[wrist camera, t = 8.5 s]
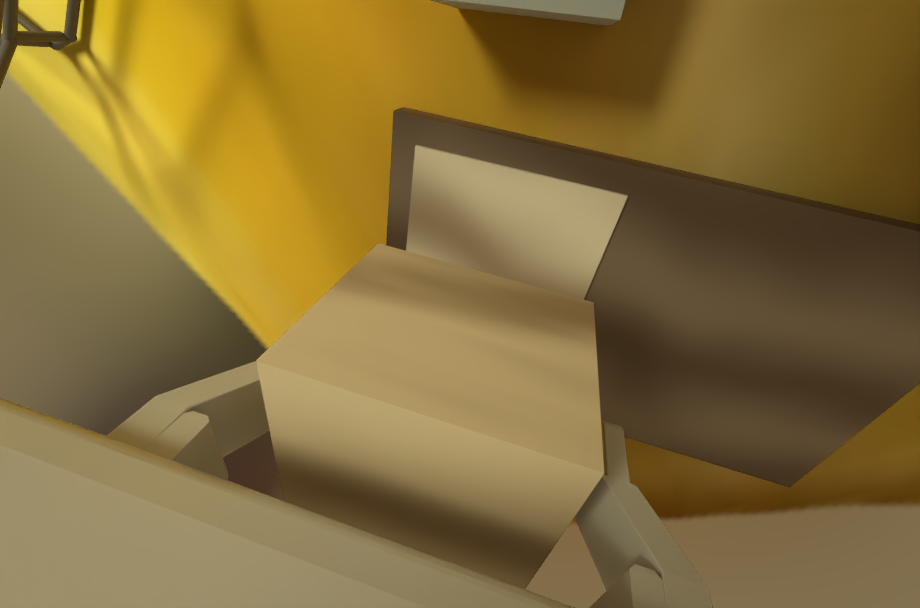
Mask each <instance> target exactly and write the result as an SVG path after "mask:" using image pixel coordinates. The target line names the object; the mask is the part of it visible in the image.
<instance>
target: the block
mask: <svg viewBox="0 0 920 608" xmlns="http://www.w3.org/2000/svg"><path fill="white" fill-rule="evenodd" d="M256 364H257V369H258V374H259V379H260V384H261V389H262V394H263V399H264V404H265V409H266V414H267V419H268V424H269V429H270V434H271V439H272V444H273V449H274V454H275V459H276V464H277V469H278V474H279V479H280V484H281V489H282V494H283V499H284V502H287V503H290V504H293V505H295V506H298V507H301V508H304V509H306V510H309V511H312V512H315V513H317V514H320V515H323V516H326V517H328V518H331V519H334V520H337V521H339V522H342V523H345V524H347V525H350V526H353V527H356V528H358V529H361V530H364V531H367V532H369V533H372V534H375V535H378V536H380V537H383V538H386V539H389V540H391V541H394V542H397V543H399V544H402V545H405V546H408V547H410V548H413V549H416V550H419V551H421V552H424V553H427V554H430V555H432V556H435V557H438V558H440V559H443V560H446V561H449V562H451V563H454V564H457V565H460V566H462V567H465V568H468V569H470V570H473V571H476V572H479V573H481V574H484V575H487V576H490V577H492V578H495V579H498V580H500V581H503V582H506V583H509V584H511V585H514V586H517V587H520V588H522V589H526V587H527V586H528V584H529V583H530V581H531V580H532V578H533V577H534V575H535V574H536V572H537V571H538V570H539V568H540V567H541V565H542V564H543V562H544V561H545V559H546V557H547V556H548V555H549V553H550V552H551V551H552V549H553V548H554V546H555V545H556V543H557V542H558V540H559V539H560V537H561V536H562V534H563V533H564V531H565V530H566V529H567V527H568V526H569V524H570V523H571V521H572V520H573V518H574V517H575V515H576V514H577V513H578V511H579V510H580V508H581V507H582V505H583V504H584V502H585V501H586V499H587V498H588V496H589V495H590V494H591V492H592V491H593V489H594V488H595V486H596V485H597V483H598V482H599V480H600V479H601V477H602V476H603V475H604V461H603V445H602V429H601V413H600V397H599V381H598V365H597V349H596V333H595V317H594V302H591V301H587V300H583V299H580V298H576V297H572V296H569V295H565V294H562V293H558V292H554V291H551V290H547V289H543V288H540V287H536V286H532V285H529V284H525V283H521V282H518V281H514V280H510V279H507V278H503V277H499V276H496V275H492V274H488V273H485V272H481V271H478V270H474V269H470V268H467V267H463V266H459V265H456V264H452V263H448V262H445V261H441V260H437V259H434V258H430V257H426V256H423V255H419V254H415V253H412V252H408V251H405V250H401V249H397V248H394V247H390V246H386V245H383V244H379V243H378V244H377V245H376V246H375V247H373V248H372V249H371V250H370V251H369V252H368V253H367V254H366V255H365V256H364V257H363V258H362V259H361V260H360V261H359V262H358V263H357V264H356V265H355V266H354V267H353V268H352V269H351V270H350V271H349V272H348V273H347V274H345V275H344V276H343V277H342V278H341V279H340V280H339V281H338V282H337V283H336V284H335V285H334V286H333V287H332V288H331V289H330V290H329V291H328V292H327V293H326V294H325V295H324V296H323V297H322V298H321V299H320V300H319V301H317V302H316V303H315V304H314V305H313V306H312V307H311V308H310V309H309V310H308V311H307V312H306V313H305V314H304V315H303V316H302V317H301V318H300V319H299V320H298V321H297V322H296V323H295V324H294V325H293V326H292V327H291V328H289V329H288V330H287V331H286V332H285V333H284V334H283V335H282V336H281V337H280V338H279V339H278V340H277V341H276V342H275V343H274V344H273V345H272V346H271V347H270V348H269V349H268V350H267V351H266V352H265V353H264V354H263V355H261V357H260V358H258V359H257V360H256Z"/></svg>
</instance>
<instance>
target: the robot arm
mask: <svg viewBox="0 0 920 608" xmlns="http://www.w3.org/2000/svg"><path fill="white" fill-rule="evenodd" d="M601 429H602V445H603V461H604V475H603V476H602V477H601V479H600V480H599V482H598V483H597V485H596V486H595V488H594V489H593V491H592V492H591V494H590V495H589V496H588V498H587V499H586V501H585V502H584V504H583V505H582V507H581V508H580V510H579V511H578V513H577V514H576V515H575V519H576V522H577V524H578V526H579V529H580V531H581V533H582V535H583V538H584V540H585V542H586V544H587V547H588V549H589V551H590V554H591V556H592V558H593V560H594V562H595V565H596V567H597V569H598V572H599V574H600V576H601V578H602V581H603V583H604V585H605V588H606V590H607V591H606V592H605V593H604V594H603V595H602V596H601V597H600V598H599V599H598V600H597V601H596V602H595V603H594V604H593V605H592V606H591V607H590V608H713V606H712V602H711V598H710V593H709V589H708V587H707V586H706V584H705V583H704V581H703V580H702V579H701V577H700V576H699V574H698V573H697V571H696V570H695V569H694V567H693V565H692V564H691V563H690V561H689V560H688V558H687V557H686V556H685V554H684V553H683V551H682V550H681V548H680V547H679V546H678V544H677V543H676V541H675V540H674V538H673V537H672V536H671V534H670V533H669V531H668V530H667V528H666V527H665V526H664V524H663V523H662V521H661V520H660V518H659V517H658V516H657V514H656V513H655V511H654V510H653V508H652V507H651V506H650V504H649V503H648V501H647V500H646V498H645V497H644V496H643V494H642V493H641V491H640V490H639V489H638V487H637V486H636V485H633V484H630V476H629V469H628V461H627V453H626V445H625V437H624V430H623V428H622V427H621V426H619V425H615V424H612V423H609V422H605V421H601ZM269 430H270V429H269V424H268V419H267V414H266V409H265V404H264V399H263V394H262V389H261V384H260V379H259V374H258V369H257V364H256V362H252V363H249V364H246V365H243V366H241V367H238V368H235V369H232V370H229V371H226V372H223V373H221V374H218V375H215V376H212V377H209V378H206V379H203V380H201V381H197V382H195V383H192V384H189V385H186V386H183V387H180V388H177V389H175V390H172V391H169V392H166V393H163V394H160V395H157V396H155V397H154V398H153V399H152V400H150V401H149V402H148V403H147V404H145V405H144V406H143V407H142V408H141V409H139V410H138V411H137V412H136V413H135V414H133V415H132V416H131V417H129V418H128V419H127V420H126V421H125V422H123V423H122V424H121V425H120V426H119V427H117V428H116V429H115V430H113V431H112V432H111V433H110V434H109V435H108V436H104V435H101V434H98V433H95V432H93V431H90V430H87V429H85V428H82V427H79V426H76V425H74V424H71V423H68V422H65V421H63V420H60V419H57V418H54V417H51V416H49V415H46V414H43V413H41V412H38V411H35V410H33V409H30V408H27V407H24V406H22V405H19V404H16V403H13V402H11V401H8V400H5V399H3V398H0V608H574V607H571V606H568V605H566V604H563V603H560V602H558V601H555V600H552V599H550V598H547V597H544V596H541V595H538V594H536V593H533V592H530V591H528V590H525V589H522V588H520V587H517V586H514V585H511V584H509V583H506V582H503V581H500V580H498V579H495V578H492V577H490V576H487V575H484V574H481V573H479V572H476V571H473V570H470V569H468V568H465V567H462V566H460V565H457V564H454V563H451V562H449V561H446V560H443V559H440V558H438V557H435V556H432V555H430V554H427V553H424V552H421V551H419V550H416V549H413V548H410V547H408V546H405V545H402V544H399V543H397V542H394V541H391V540H389V539H386V538H383V537H380V536H378V535H375V534H372V533H369V532H367V531H364V530H361V529H358V528H356V527H353V526H350V525H347V524H345V523H342V522H339V521H337V520H334V519H331V518H328V517H326V516H323V515H320V514H317V513H315V512H312V511H309V510H306V509H304V508H301V507H298V506H295V505H293V504H290V503H287V502H284V501H282V500H279V499H276V498H274V497H271V496H268V495H265V494H263V493H260V492H257V491H254V490H252V489H249V488H246V487H243V486H241V485H238V484H235V483H232V482H230V481H227V479H228V473H227V470H226V467H225V464H224V461H223V457H224V456H226V455H228V454H229V453H231V452H233V451H235V450H236V449H238V448H240V447H242V446H243V445H245V444H247V443H248V442H250V441H252V440H254V439H256V438H257V437H259V436H261V435H262V434H264V433H266V432H267V431H269Z"/></svg>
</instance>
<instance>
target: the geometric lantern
mask: <svg viewBox="0 0 920 608" xmlns="http://www.w3.org/2000/svg"><path fill="white" fill-rule="evenodd" d="M80 2H81V0H68V3H67V12H66V21H65V31H64V33H62V32H60V31H41V30H40V29H39V28H38V27H37V26H35V25H34V24H33V23H32V22H30V21H29V20H28V19H27V18H26V17H24V16H23V15H22V14H21V13H19V12H18V0H0V88H1V85H2V83H3V80H4V78H5V75H6V73H7V70H8V67H9V65H10V62H11V60H12V57H13V55H14V52H15V49H16V47H17V45H19V46H38V47H51V48H53V49H54V50H59V49H61V48H63V47H65V46H67V45H69V44H71V43H73V42H75V41H76V40H77V36H76V34H77V26H78V18H79V10H80ZM2 21H3V34H1V29H2ZM18 23H20V24H21V25H22V26H23V27H24V28H26V29H27V30H28V31H17V30H18Z"/></svg>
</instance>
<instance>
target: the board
mask: <svg viewBox="0 0 920 608" xmlns="http://www.w3.org/2000/svg"><path fill="white" fill-rule="evenodd" d="M386 246H390V247H394V248H397V249H401V250H405V251H408V252H412V253H415V254H419V255H423V256H426V257H430V258H434V259H437V260H441V261H445V262H448V263H452V264H456V265H459V266H463V267H467V268H470V269H474V270H478V271H481V272H485V273H488V274H492V275H496V276H499V277H503V278H507V279H510V280H514V281H518V282H521V283H525V284H529V285H532V286H536V287H540V288H543V289H547V290H551V291H554V292H558V293H562V294H565V295H569V296H572V297H576V298H580V299H583V300H587V301H591V302H594V317H595V333H596V349H597V365H598V381H599V397H600V413H601V421H605V422H609V423H612V424H615V425H619V426H621V427H622V428H623V430H624V437H628V438H631V439H634V440H637V441H641V442H644V443H647V444H650V445H654V446H657V447H660V448H663V449H667V450H670V451H673V452H676V453H680V454H683V455H686V456H689V457H693V458H696V459H699V460H702V461H706V462H709V463H712V464H715V465H719V466H722V467H725V468H728V469H732V470H735V471H738V472H741V473H745V474H748V475H751V476H754V477H758V478H761V479H764V480H767V481H771V482H774V483H777V484H780V485H784V486H787V487H790V486H792V485H793V484H794V483H795V482H797V481H798V480H799V479H800V478H802V477H803V476H804V475H805V474H807V473H808V472H809V471H810V470H812V469H813V468H814V467H815V466H817V465H818V464H819V463H821V462H822V461H823V460H824V459H826V458H827V457H828V456H829V455H831V454H832V453H833V452H834V451H836V450H837V449H838V448H839V447H841V446H842V445H843V444H844V443H846V442H847V441H848V440H849V439H851V438H852V437H853V436H854V435H856V434H857V433H858V432H859V431H861V430H862V429H863V428H864V427H866V426H867V425H868V424H869V423H871V422H872V421H873V420H874V419H876V418H877V417H878V416H879V415H881V414H882V413H883V412H884V411H886V410H887V409H888V408H889V407H891V406H892V405H893V404H894V403H896V402H897V401H898V400H899V399H901V398H902V397H903V396H904V395H906V394H907V393H908V392H909V391H911V390H912V389H913V388H914V387H916V386H917V385H918V384H919V383H920V225H918V224H913V223H909V222H905V221H900V220H896V219H891V218H887V217H883V216H878V215H874V214H869V213H865V212H861V211H856V210H852V209H848V208H843V207H839V206H834V205H830V204H826V203H821V202H817V201H812V200H808V199H804V198H799V197H795V196H790V195H786V194H782V193H777V192H773V191H769V190H764V189H760V188H755V187H751V186H747V185H742V184H738V183H733V182H729V181H725V180H720V179H716V178H711V177H707V176H703V175H698V174H694V173H690V172H685V171H681V170H676V169H672V168H668V167H663V166H659V165H654V164H650V163H646V162H641V161H637V160H632V159H628V158H624V157H619V156H615V155H611V154H606V153H602V152H597V151H593V150H589V149H584V148H580V147H575V146H571V145H567V144H562V143H558V142H554V141H549V140H545V139H540V138H536V137H532V136H527V135H523V134H518V133H514V132H510V131H505V130H501V129H496V128H492V127H488V126H483V125H479V124H475V123H470V122H466V121H461V120H457V119H453V118H448V117H444V116H439V115H435V114H431V113H426V112H422V111H417V110H413V109H409V108H404V107H403V108H400V109H397V110H395V111H394V114H393V133H392V151H391V170H390V188H389V207H388V226H387V244H386Z"/></svg>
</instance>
